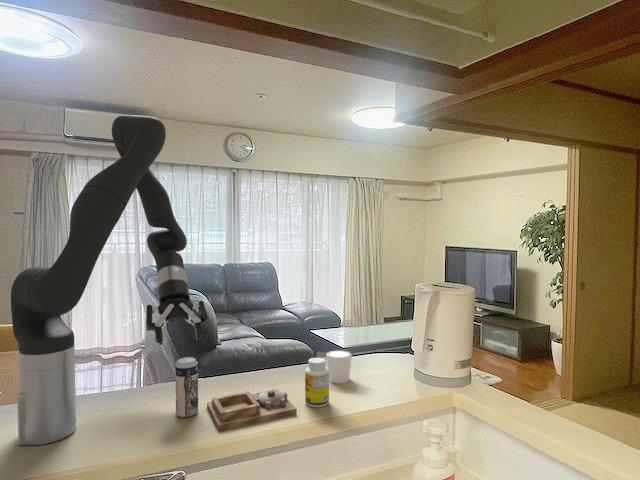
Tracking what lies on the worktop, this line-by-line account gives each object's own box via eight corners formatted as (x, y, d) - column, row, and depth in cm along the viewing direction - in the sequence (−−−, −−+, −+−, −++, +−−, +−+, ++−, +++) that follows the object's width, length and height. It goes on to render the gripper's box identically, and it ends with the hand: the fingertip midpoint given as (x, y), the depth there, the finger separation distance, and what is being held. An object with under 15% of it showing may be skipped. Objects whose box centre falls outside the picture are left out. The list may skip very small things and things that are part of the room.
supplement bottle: (305, 398, 100) (304, 356, 100) (328, 398, 100) (328, 356, 100) (305, 408, 94) (304, 364, 94) (329, 408, 95) (329, 363, 94)
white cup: (352, 384, 109) (352, 357, 109) (326, 384, 109) (326, 357, 109) (350, 374, 116) (350, 350, 116) (326, 374, 116) (326, 349, 116)
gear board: (219, 431, 84) (219, 414, 84) (207, 407, 95) (206, 393, 95) (296, 414, 92) (296, 398, 92) (277, 394, 102) (277, 380, 102)
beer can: (191, 419, 89) (191, 364, 89) (171, 417, 90) (170, 362, 90) (202, 409, 94) (201, 357, 93) (183, 408, 95) (182, 355, 94)
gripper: (144, 279, 104) (148, 336, 94) (202, 276, 110) (212, 329, 100) (143, 297, 109) (147, 353, 99) (198, 293, 115) (208, 345, 105)
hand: (180, 340), depth 100 cm, fingers open, 8 cm apart
